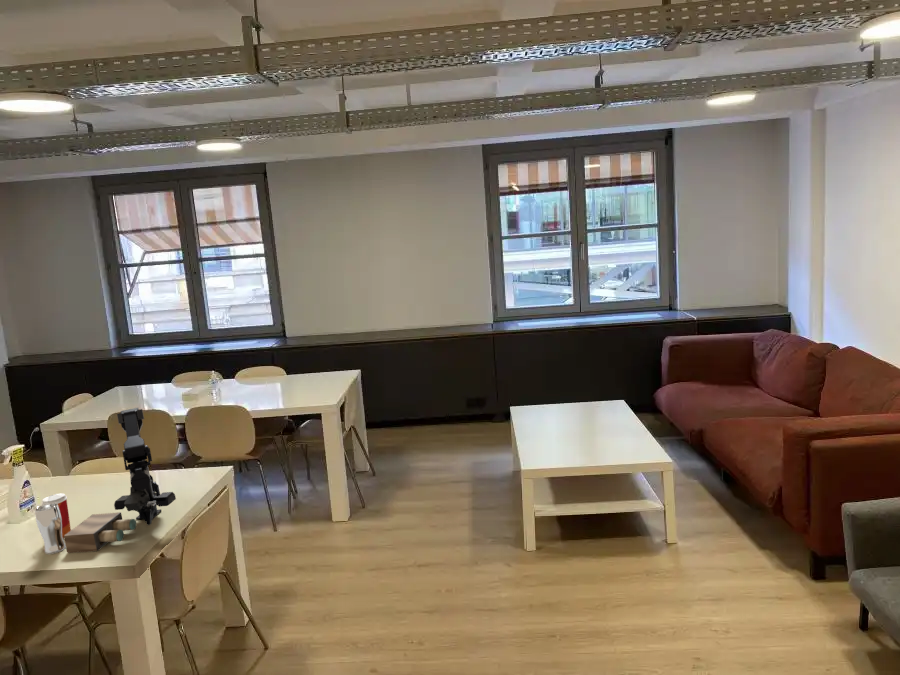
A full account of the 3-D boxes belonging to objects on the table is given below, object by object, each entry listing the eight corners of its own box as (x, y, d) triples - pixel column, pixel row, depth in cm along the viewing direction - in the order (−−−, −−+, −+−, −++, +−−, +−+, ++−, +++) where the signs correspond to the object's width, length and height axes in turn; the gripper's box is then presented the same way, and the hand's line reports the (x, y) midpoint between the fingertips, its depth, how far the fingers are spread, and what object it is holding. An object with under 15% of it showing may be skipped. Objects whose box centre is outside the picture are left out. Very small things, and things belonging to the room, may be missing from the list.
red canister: (46, 537, 234) (38, 498, 232) (70, 528, 239) (62, 491, 237) (52, 542, 229) (44, 503, 226) (77, 534, 234) (69, 495, 231)
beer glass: (71, 543, 226) (62, 501, 224) (60, 553, 219) (51, 510, 217) (50, 546, 226) (41, 503, 224) (38, 556, 219) (29, 512, 217)
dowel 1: (98, 539, 224) (96, 529, 224) (124, 537, 224) (122, 527, 223) (92, 544, 221) (89, 534, 220) (118, 543, 220) (116, 532, 219)
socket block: (95, 530, 235) (92, 514, 234) (124, 528, 234) (121, 512, 233) (67, 553, 219) (63, 535, 218) (97, 551, 218) (94, 533, 217)
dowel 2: (111, 528, 232) (109, 518, 231) (137, 526, 231) (135, 517, 231) (105, 533, 229) (103, 523, 228) (131, 531, 228) (129, 521, 227)
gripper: (100, 492, 219) (109, 537, 222) (156, 488, 218) (164, 533, 220) (119, 479, 230) (127, 522, 233) (172, 475, 229) (180, 518, 231)
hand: (149, 524), depth 229 cm, fingers closed
